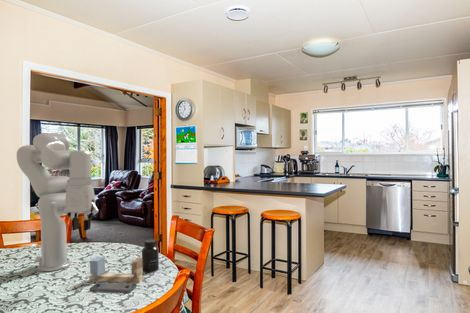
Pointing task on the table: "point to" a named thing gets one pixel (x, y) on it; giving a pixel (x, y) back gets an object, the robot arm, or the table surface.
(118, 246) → the table surface
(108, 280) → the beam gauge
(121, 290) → the flange plate
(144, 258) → the supplement bottle
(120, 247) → the table surface
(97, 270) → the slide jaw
